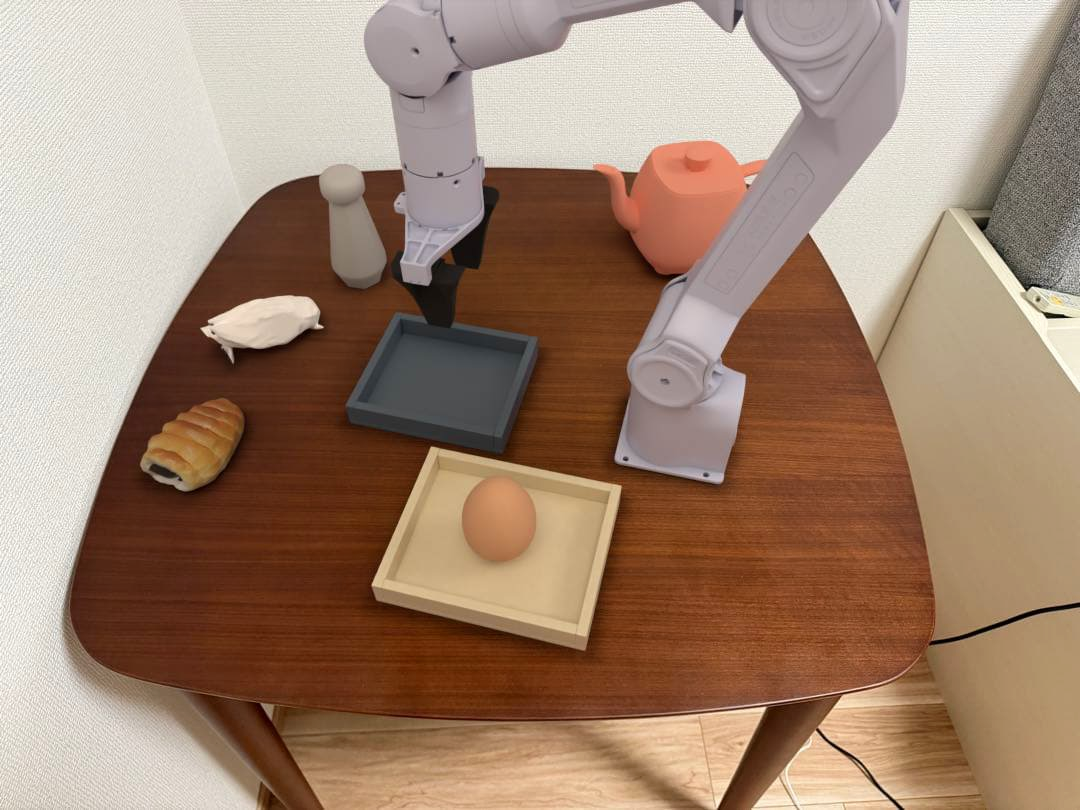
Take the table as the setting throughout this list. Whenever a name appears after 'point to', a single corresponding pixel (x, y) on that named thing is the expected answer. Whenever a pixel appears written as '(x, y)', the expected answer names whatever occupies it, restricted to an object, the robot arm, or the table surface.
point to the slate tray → (445, 383)
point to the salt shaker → (351, 228)
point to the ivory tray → (511, 586)
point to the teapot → (679, 201)
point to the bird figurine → (263, 323)
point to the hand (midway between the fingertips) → (454, 293)
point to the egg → (499, 519)
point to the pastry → (195, 445)
